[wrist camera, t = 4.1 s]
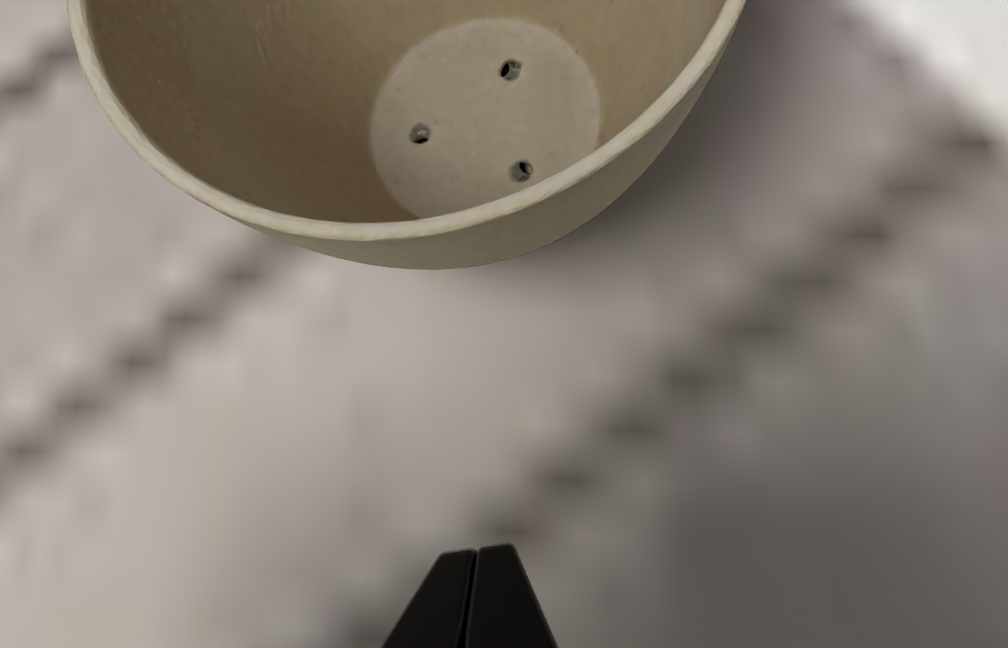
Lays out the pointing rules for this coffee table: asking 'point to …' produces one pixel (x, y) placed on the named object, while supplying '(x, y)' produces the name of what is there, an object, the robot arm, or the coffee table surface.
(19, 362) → the coffee table surface
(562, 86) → the flower pot
